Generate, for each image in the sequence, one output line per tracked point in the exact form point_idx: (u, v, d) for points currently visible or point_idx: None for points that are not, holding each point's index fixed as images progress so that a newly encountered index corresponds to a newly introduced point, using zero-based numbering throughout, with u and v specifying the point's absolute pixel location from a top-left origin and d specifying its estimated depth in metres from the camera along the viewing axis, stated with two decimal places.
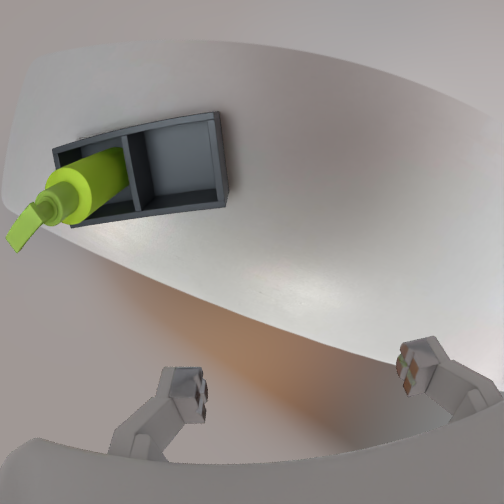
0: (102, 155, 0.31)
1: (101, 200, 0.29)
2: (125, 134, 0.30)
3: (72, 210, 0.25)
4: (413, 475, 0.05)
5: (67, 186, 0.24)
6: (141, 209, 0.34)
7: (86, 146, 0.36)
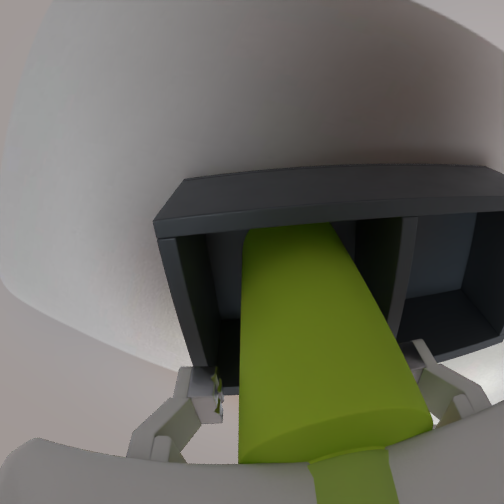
0: (340, 262, 0.12)
1: None
2: (416, 214, 0.11)
3: None
4: (413, 475, 0.05)
5: None
6: None
7: None
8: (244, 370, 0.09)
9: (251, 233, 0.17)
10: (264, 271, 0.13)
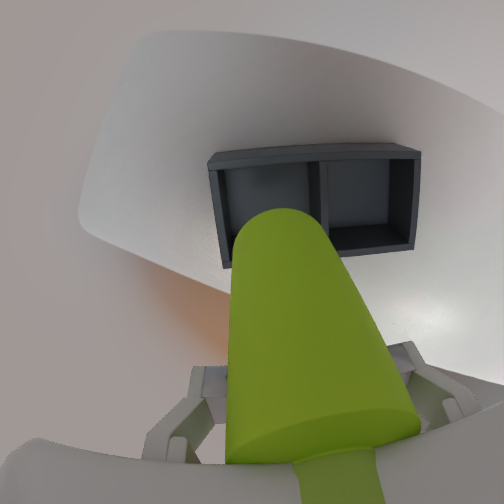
0: (328, 263, 0.12)
1: None
2: (325, 160, 0.26)
3: None
4: (413, 475, 0.05)
5: None
6: None
7: None
8: (231, 370, 0.09)
9: (241, 234, 0.17)
10: (252, 273, 0.13)
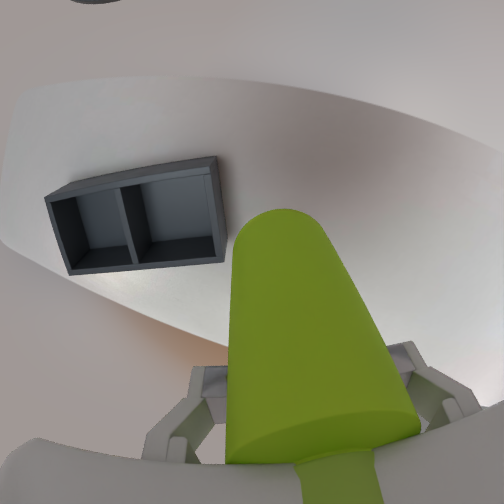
0: (329, 264, 0.12)
1: None
2: (118, 187, 0.30)
3: None
4: (413, 475, 0.05)
5: None
6: (138, 262, 0.34)
7: None
8: (231, 371, 0.09)
9: (241, 235, 0.17)
10: (252, 273, 0.13)
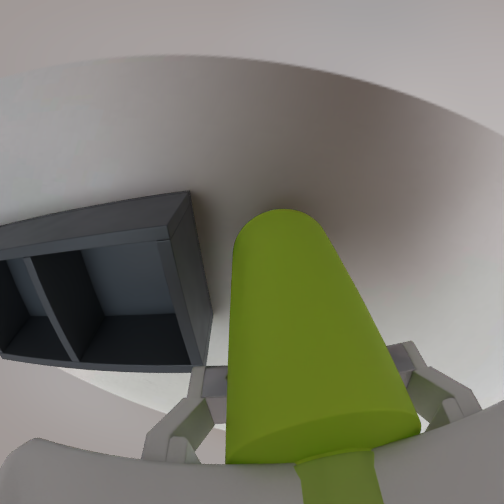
0: (329, 264, 0.12)
1: None
2: (27, 256, 0.16)
3: None
4: (413, 475, 0.05)
5: None
6: (79, 359, 0.20)
7: None
8: (231, 371, 0.09)
9: (241, 235, 0.17)
10: (252, 273, 0.13)
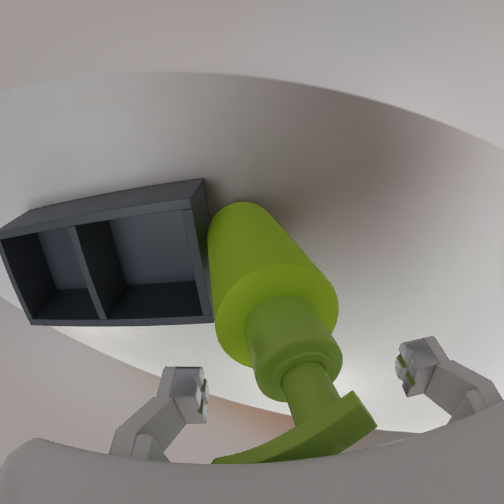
0: (271, 223, 0.20)
1: None
2: (72, 225, 0.21)
3: None
4: (413, 475, 0.05)
5: (313, 310, 0.13)
6: (107, 317, 0.25)
7: None
8: (214, 278, 0.16)
9: (213, 221, 0.24)
10: (222, 232, 0.20)
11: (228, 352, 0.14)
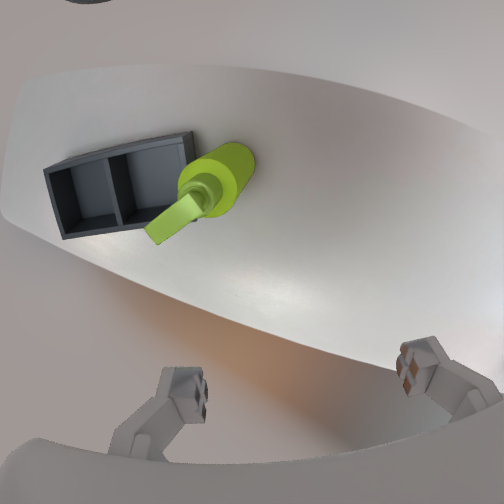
0: (231, 149, 0.34)
1: (239, 194, 0.31)
2: (106, 157, 0.34)
3: (217, 203, 0.28)
4: (413, 475, 0.05)
5: (213, 178, 0.27)
6: (123, 223, 0.38)
7: None
8: None
9: None
10: None
11: None
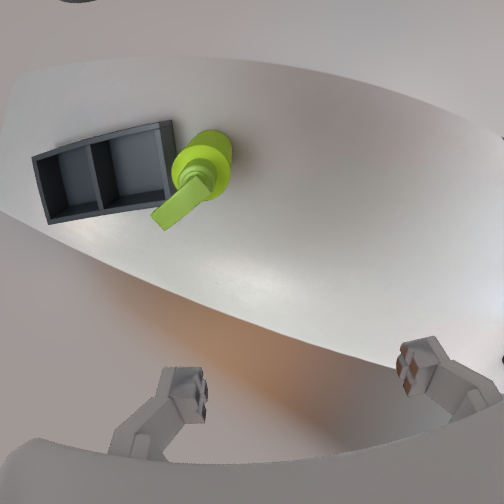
0: (213, 136, 0.35)
1: None
2: (88, 144, 0.34)
3: None
4: (413, 475, 0.05)
5: (208, 162, 0.28)
6: (104, 208, 0.38)
7: (62, 153, 0.40)
8: None
9: None
10: None
11: (178, 190, 0.30)
